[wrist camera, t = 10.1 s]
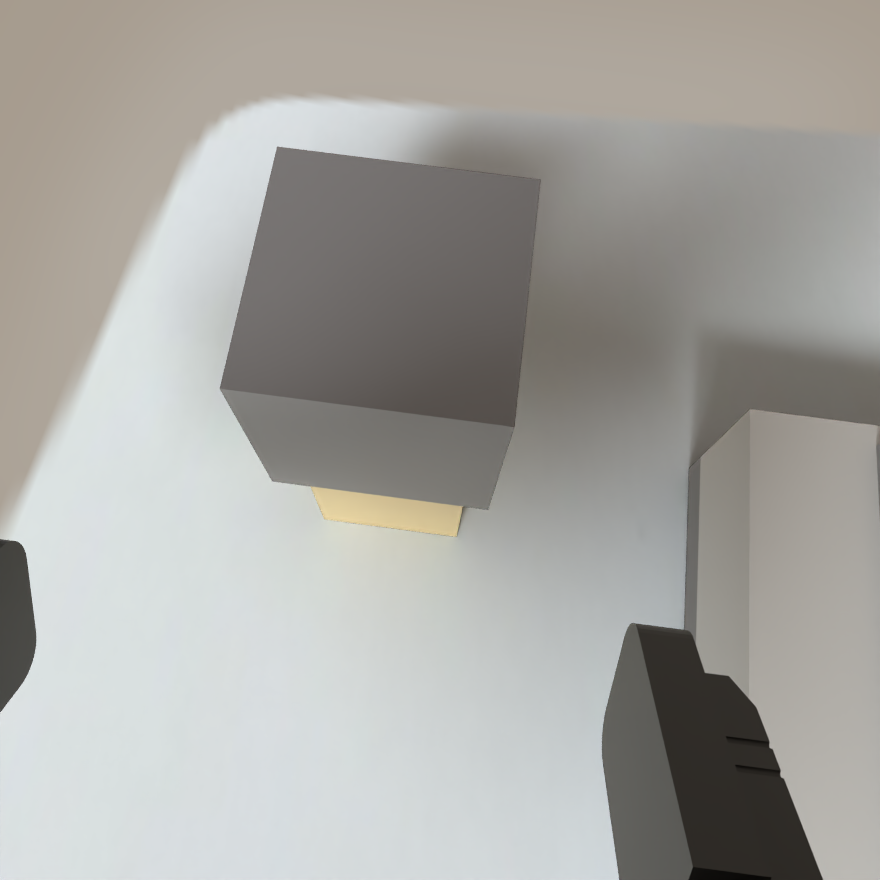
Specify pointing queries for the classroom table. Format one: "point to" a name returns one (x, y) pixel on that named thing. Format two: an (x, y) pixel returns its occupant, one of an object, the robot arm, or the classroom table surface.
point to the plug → (384, 335)
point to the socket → (798, 611)
